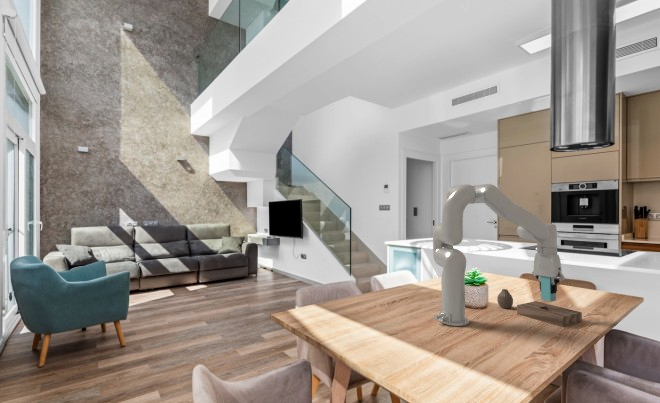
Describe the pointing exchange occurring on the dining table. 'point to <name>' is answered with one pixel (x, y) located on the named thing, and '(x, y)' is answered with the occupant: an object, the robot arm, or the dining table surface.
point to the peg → (547, 290)
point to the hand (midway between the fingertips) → (548, 291)
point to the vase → (505, 299)
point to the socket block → (549, 313)
